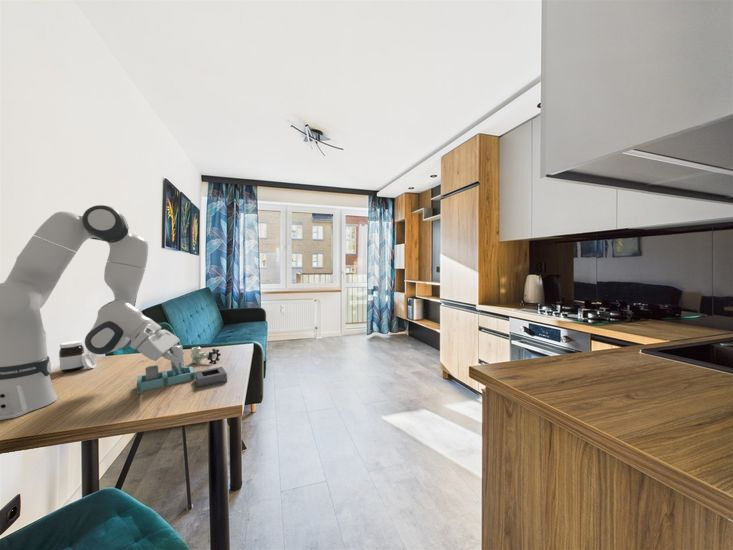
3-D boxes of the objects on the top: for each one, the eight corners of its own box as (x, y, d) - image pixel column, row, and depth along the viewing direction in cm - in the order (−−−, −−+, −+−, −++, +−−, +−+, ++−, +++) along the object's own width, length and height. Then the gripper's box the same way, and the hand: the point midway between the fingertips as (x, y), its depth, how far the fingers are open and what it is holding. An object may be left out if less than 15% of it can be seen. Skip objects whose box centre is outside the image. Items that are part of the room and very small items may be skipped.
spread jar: (61, 369, 132) (59, 342, 132) (96, 362, 140) (94, 337, 139) (59, 376, 123) (57, 347, 123) (97, 369, 131) (95, 341, 131)
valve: (186, 364, 134) (209, 366, 130) (185, 349, 134) (208, 351, 130) (198, 360, 140) (221, 361, 137) (198, 345, 140) (220, 346, 136)
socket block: (198, 391, 105) (197, 379, 105) (195, 382, 113) (194, 371, 112) (227, 384, 110) (226, 373, 110) (222, 377, 118) (222, 366, 117)
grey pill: (172, 381, 112) (169, 349, 111) (172, 378, 115) (169, 346, 114) (185, 378, 114) (182, 346, 113) (184, 375, 117) (181, 344, 116)
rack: (137, 394, 104) (135, 373, 104) (138, 385, 111) (137, 366, 111) (195, 382, 113) (194, 363, 113) (192, 374, 121) (191, 357, 121)
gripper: (152, 334, 121) (181, 356, 124) (127, 348, 101) (163, 374, 104) (164, 321, 122) (193, 344, 125) (142, 333, 102) (177, 359, 105)
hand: (179, 358), depth 114 cm, fingers open, 5 cm apart
